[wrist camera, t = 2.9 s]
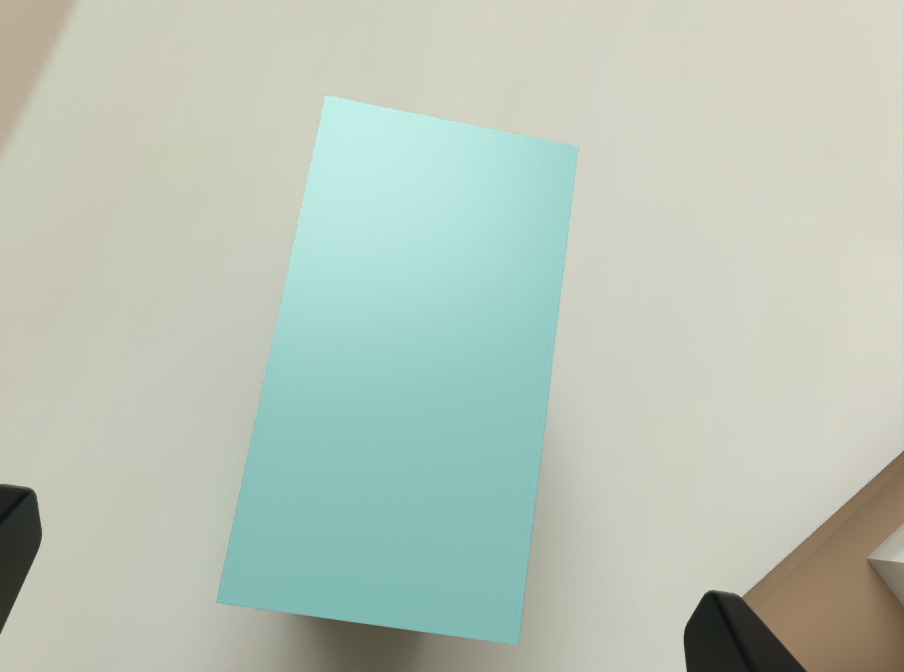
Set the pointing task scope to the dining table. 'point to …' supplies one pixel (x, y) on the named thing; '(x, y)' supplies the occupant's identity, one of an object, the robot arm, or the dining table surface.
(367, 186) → the teal rectangular block
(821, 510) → the dining table surface
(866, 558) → the rail board
